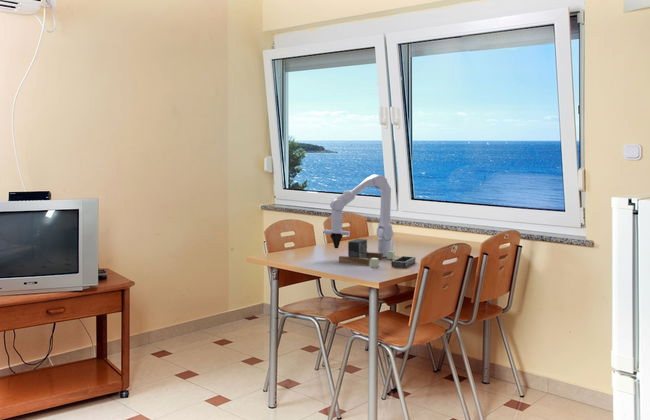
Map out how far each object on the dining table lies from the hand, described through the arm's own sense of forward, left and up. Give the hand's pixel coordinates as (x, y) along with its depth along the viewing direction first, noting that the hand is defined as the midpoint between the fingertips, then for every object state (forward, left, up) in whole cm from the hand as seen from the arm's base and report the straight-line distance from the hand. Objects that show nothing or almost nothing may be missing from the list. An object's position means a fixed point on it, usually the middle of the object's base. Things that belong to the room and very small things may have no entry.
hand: (336, 248), depth 331 cm
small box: (0, +12, -6) cm, 13 cm away
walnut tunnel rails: (0, +14, -5) cm, 15 cm away
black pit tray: (0, +37, -5) cm, 37 cm away
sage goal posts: (0, +26, -5) cm, 27 cm away
